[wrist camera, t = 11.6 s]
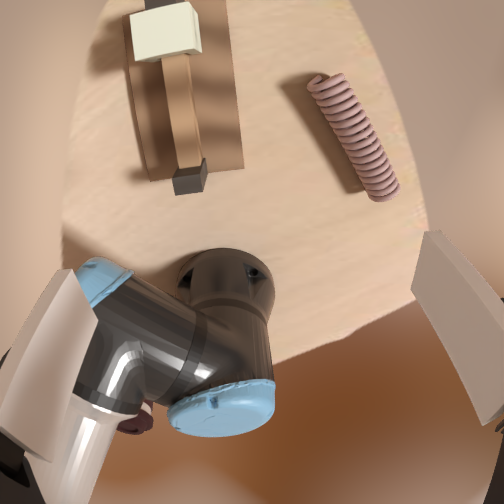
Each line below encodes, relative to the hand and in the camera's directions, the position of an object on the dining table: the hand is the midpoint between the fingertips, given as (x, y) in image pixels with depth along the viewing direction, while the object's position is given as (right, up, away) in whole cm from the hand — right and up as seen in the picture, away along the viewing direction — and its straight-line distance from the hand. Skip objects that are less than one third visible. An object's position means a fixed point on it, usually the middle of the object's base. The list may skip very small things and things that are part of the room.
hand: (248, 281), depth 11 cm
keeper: (-8, +25, +16) cm, 31 cm away
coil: (+13, +16, +25) cm, 32 cm away
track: (-8, +20, +21) cm, 30 cm away
